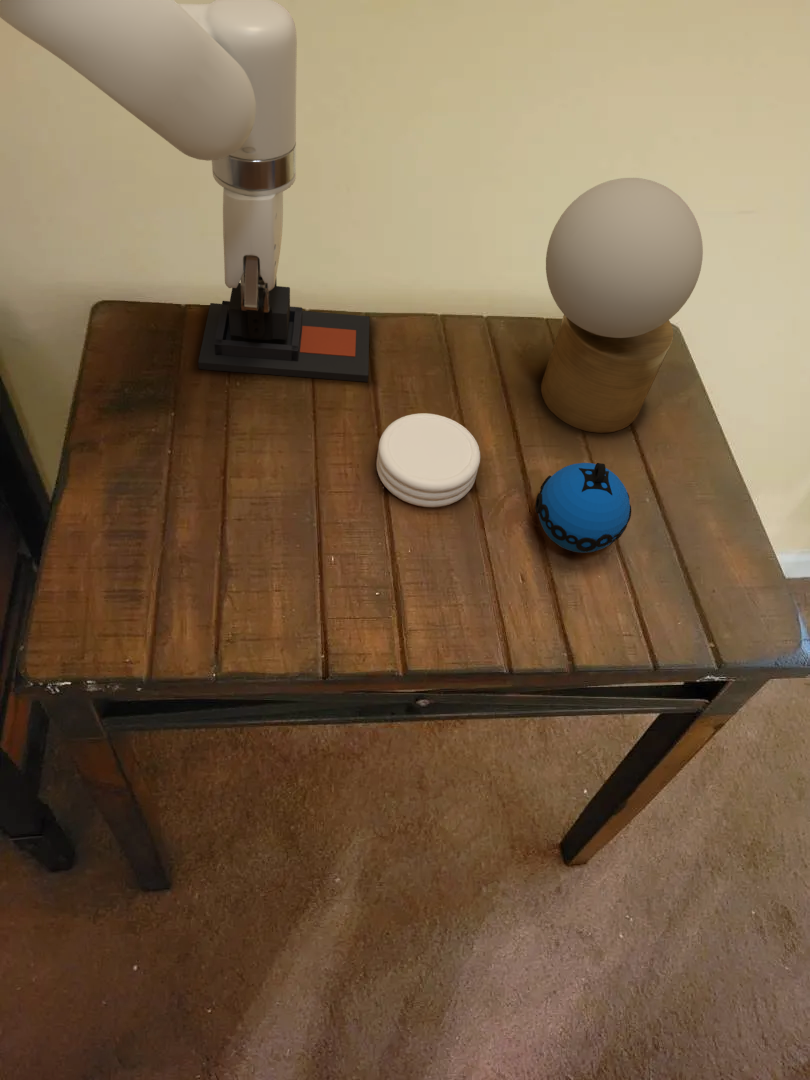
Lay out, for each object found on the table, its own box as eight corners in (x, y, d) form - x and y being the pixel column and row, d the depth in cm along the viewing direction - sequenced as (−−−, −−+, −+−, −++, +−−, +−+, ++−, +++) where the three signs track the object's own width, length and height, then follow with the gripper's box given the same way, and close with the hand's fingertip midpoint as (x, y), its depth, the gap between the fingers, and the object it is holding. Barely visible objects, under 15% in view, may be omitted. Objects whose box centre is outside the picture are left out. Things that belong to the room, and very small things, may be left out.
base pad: (198, 369, 87) (196, 351, 85) (210, 309, 93) (209, 291, 91) (367, 382, 89) (369, 364, 87) (368, 323, 95) (370, 305, 93)
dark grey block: (230, 335, 87) (228, 308, 84) (234, 308, 90) (233, 281, 87) (287, 340, 88) (286, 313, 85) (289, 313, 90) (290, 286, 88)
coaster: (356, 476, 81) (358, 452, 78) (411, 420, 86) (415, 396, 83) (441, 526, 78) (447, 503, 75) (492, 465, 84) (499, 442, 81)
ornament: (619, 575, 77) (657, 509, 69) (529, 566, 77) (557, 498, 69) (609, 505, 82) (643, 435, 74) (525, 496, 82) (550, 425, 74)
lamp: (539, 457, 85) (615, 245, 65) (487, 367, 93) (542, 152, 73) (663, 434, 89) (771, 228, 69) (605, 349, 97) (686, 141, 77)
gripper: (222, 108, 79) (233, 271, 93) (198, 207, 69) (214, 372, 83) (301, 116, 79) (299, 277, 94) (289, 215, 69) (289, 378, 84)
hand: (259, 320), depth 88 cm, fingers closed on dark grey block, 4 cm apart
